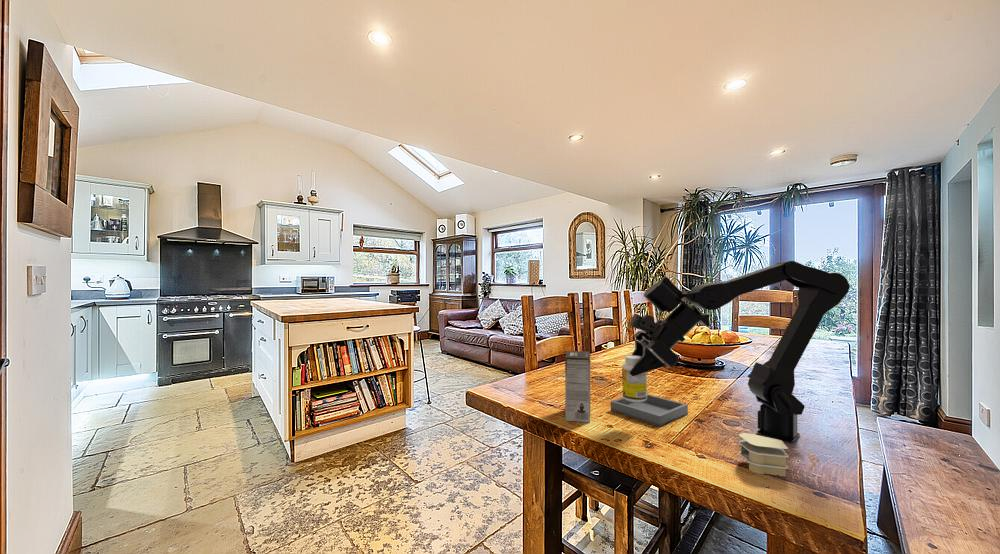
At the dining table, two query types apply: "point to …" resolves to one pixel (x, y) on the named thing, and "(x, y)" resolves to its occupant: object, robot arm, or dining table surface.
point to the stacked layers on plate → (764, 454)
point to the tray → (651, 409)
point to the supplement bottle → (633, 381)
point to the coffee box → (577, 386)
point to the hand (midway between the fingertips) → (628, 371)
